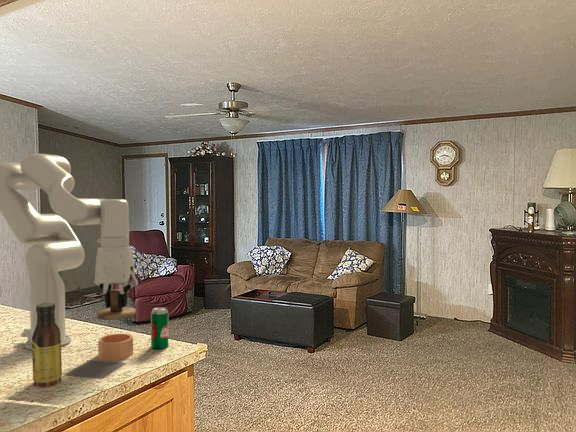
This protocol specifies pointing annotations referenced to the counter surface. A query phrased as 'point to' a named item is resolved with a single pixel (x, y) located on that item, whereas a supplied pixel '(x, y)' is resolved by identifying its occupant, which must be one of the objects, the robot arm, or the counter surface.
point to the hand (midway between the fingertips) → (116, 306)
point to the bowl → (115, 346)
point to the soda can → (159, 328)
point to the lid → (115, 309)
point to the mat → (95, 369)
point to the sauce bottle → (46, 348)
